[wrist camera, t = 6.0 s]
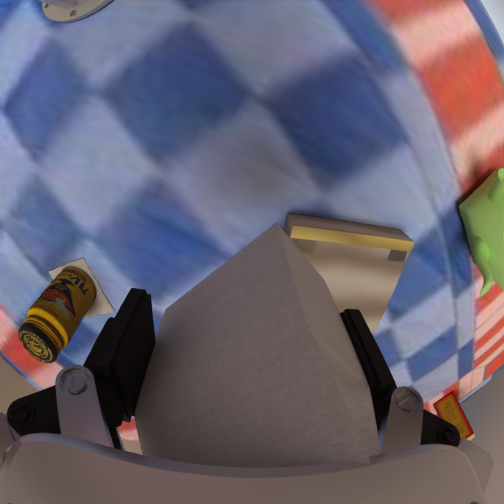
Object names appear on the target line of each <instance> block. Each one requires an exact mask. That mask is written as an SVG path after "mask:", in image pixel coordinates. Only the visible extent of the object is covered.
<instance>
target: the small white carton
mask: <svg viewBox="0 0 504 504" xmlns="http://www.w3.org/2000/svg"><path fill="white" fill-rule="evenodd" d="M155 340H156V343H155V346H154V349H153V352H152V355H151V358H150V362H149V365H148V368H147V371H146V375H145V378H144V381H143V385H142V388H141V391H140V395H139V398H138V402H137V405H136V409H135V416H134V417H135V422H136V427H137V432H138V437H139V441H140V445H141V449H142V453H143V455H146V456H150V457H155V458H161V459H166V460H172V461H178V462H185V463H193V464H202V465H212V466H226V467H252V468H267V467H293V466H307V465H317V464H326V463H334V462H340V461H342V462H358V463H371V462H370V460H369V457H368V456H374V455H378V454H381V449H380V443H379V438H378V432H377V425H376V420H375V414H374V409H373V403H372V398H371V393H370V388H369V384H368V381H367V379H366V376H365V374H364V371H363V369H362V366H361V364H360V361H359V359H358V356H357V354H356V351H355V349H354V346H353V344H352V342H351V339H350V337H349V334H348V332H347V330H346V327H345V325H344V323H343V320H342V318H341V316H340V313H339V311H338V309H337V306H336V304H335V302H334V300H333V297H332V295H331V293H330V291H329V288H328V286H327V284H326V282H325V280H324V279H323V278H322V277H321V275H320V274H319V273H318V272H317V271H316V269H315V268H314V267H313V266H312V264H311V263H310V262H309V261H308V260H307V258H306V257H305V256H304V255H303V254H302V252H301V251H300V250H299V249H298V248H297V246H296V245H295V244H294V243H293V242H292V240H291V239H290V238H289V237H288V236H287V234H286V233H285V232H284V231H283V230H282V229H281V227H280V226H279V225H278V224H277V223H276V224H275V225H273V226H272V227H271V228H269V229H268V230H267V231H265V232H264V233H263V234H262V235H260V236H259V237H258V238H256V239H255V240H254V241H253V242H251V243H250V244H249V245H247V246H246V247H245V248H243V249H242V250H241V251H240V252H238V253H237V254H236V255H234V256H233V257H232V258H231V259H229V260H228V261H227V262H225V263H224V264H223V265H222V266H220V267H219V268H218V269H217V270H215V271H214V272H213V273H211V274H210V275H209V276H208V277H206V278H205V279H204V280H202V281H201V282H200V283H199V284H197V285H196V286H195V287H193V288H192V289H191V290H190V291H188V292H187V293H186V294H185V295H183V296H182V297H181V298H179V299H178V300H177V301H176V302H174V303H173V304H172V305H171V306H169V307H168V308H167V309H166V310H165V313H164V316H163V319H162V322H161V325H160V328H159V330H158V333H157V336H156V339H155Z"/></svg>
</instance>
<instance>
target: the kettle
mask: <svg viewBox="0 0 504 504" xmlns="http://www.w3.org/2000/svg"><path fill="white" fill-rule="evenodd" d="M459 209H460V216H461V217H462V219H463V223H464V226H465V230H466V234H467V238H468V244H469V246H470V250H471V254H472V259H473V262H474V263H475V264H476V265H477V266H478V268H479V270H480V271H481V273H482V275H483V279H484V284H483V287H482V290H481V292H480V296H482V295H483V294H485V293H486V292H487V291H488V289H489V288H490V287H491V285H492V282H493V280H494V281H495V282H496V283H497V284H498V285H499V286H500V287H501V288H502V289H503V290H504V168H500V169H499V170H495V171H494V172H493V173H492V174H491V175H490V176H489V177H488V178H487V179H486V180H485V181H484V182H483V183H482V184H481V185H480V186H479V187H478V188H477V189H476V190H475V191H474V192H473V193H472V194H471V195H470V196H469V197H468V198H467V199H466V200H465V201H464V202H463V203H462V204H460V205H459Z"/></svg>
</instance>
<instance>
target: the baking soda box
mask: <svg viewBox="0 0 504 504" xmlns="http://www.w3.org/2000/svg"><path fill="white" fill-rule="evenodd" d="M433 405H434V408H435V410H436V412H437V414H438V416H439V417H440V418H442V419H444V420H446V421H447V422H449V423H451V424H453V425H454V426H455V427H456V428H457V429H458V431H459V433H460V439H461V438H462V437H464V438H466V439H468V440H469V441H470V440H472V439H473V438H474V437H475V436H474V432H473V430H472V428H471V426H470V424H469V422H468V420H467V418H466V416H465V414H464V412H463V410H462V408H461V406H460V404H459V402H458V400H457V398H456V396H455V394H454V393H453V391H451V392H450V393H448V394H447V395H445V396H444V397H443V398H441V399H440V400H438V401H437V402H435V403H434V404H433Z"/></svg>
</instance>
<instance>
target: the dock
mask: <svg viewBox="0 0 504 504" xmlns="http://www.w3.org/2000/svg"><path fill="white" fill-rule="evenodd" d="M284 232H285V233H286V234H287V236H288V237H289V238H290V239H291V240H292V242H293V243H294V244H295V245H296V246H297V248H298V249H299V250H300V251H301V252H302V254H303V255H304V256H305V257H306V258H307V260H308V261H309V262H310V263H311V264H312V266H313V267H314V268H315V269H316V271H317V272H318V273H319V274H320V275H321V277H322V278H323V279H324V280H325V282H326V284H327V286H328V288H329V291H330V293H331V295H332V297H333V300H334V302H335V304H336V306H337V309H338V311H339V313H341V312H343V311H344V310H345V309H358V310H360V312H361V314H362V316H363V317H364V319H365V321H366V323H367V325H368V327H369V329H370V331H371V333H372V335H373V334H374V332H375V330H376V328H377V326H378V324H379V322H380V320H381V318H382V316H383V314H384V312H385V310H386V307H387V305H388V303H389V301H390V299H391V296H392V294H393V292H394V289H395V287H396V285H397V282H398V280H399V278H400V275H401V273H402V270H403V268H404V265H405V262H406V260H407V257H408V254H409V252H411V251H412V248H413V246H414V243H415V242H414V241H413V240H412V239H411V238H409V237H408V236H407V235H406V234H405V233H404V232H403V231H401V230H398V229H392V228H386V227H380V226H374V225H368V224H361V223H355V222H348V221H341V220H334V219H327V218H320V217H313V216H305V215H297V214H289V213H287V218H286V223H285V229H284Z"/></svg>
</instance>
